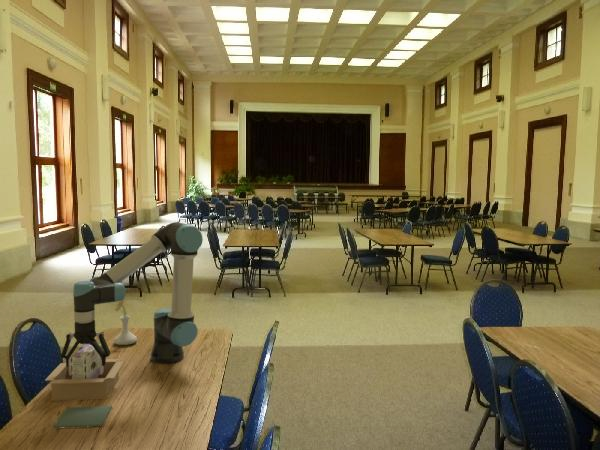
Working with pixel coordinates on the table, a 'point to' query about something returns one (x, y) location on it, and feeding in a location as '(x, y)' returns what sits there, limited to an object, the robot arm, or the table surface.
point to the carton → (84, 383)
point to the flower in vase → (124, 328)
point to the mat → (83, 416)
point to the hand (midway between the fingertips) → (86, 373)
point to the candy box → (85, 363)
